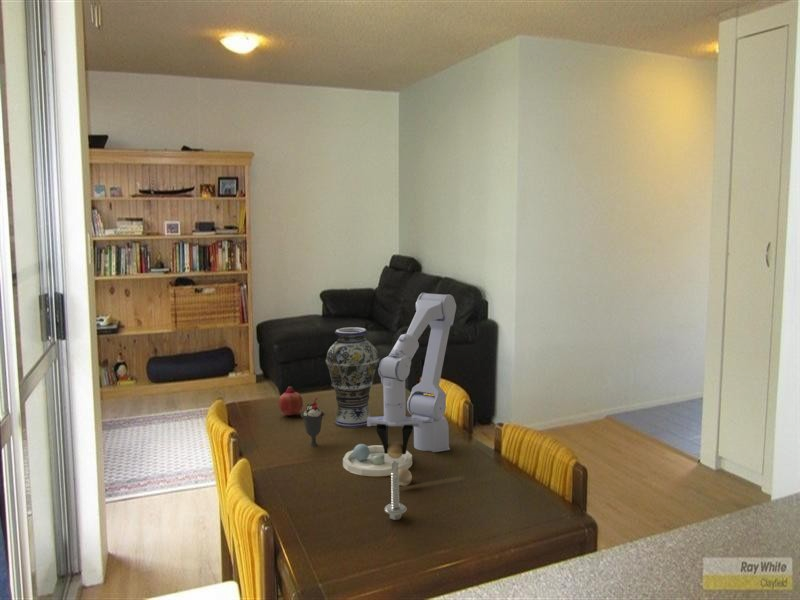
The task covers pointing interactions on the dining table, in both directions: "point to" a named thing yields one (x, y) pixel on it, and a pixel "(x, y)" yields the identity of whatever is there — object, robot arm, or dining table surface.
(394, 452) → the bead oak
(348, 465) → the tray
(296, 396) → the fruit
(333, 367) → the vase
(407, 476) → the bead birch
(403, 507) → the screw
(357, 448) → the bead blue
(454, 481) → the dining table surface
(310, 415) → the sundae
